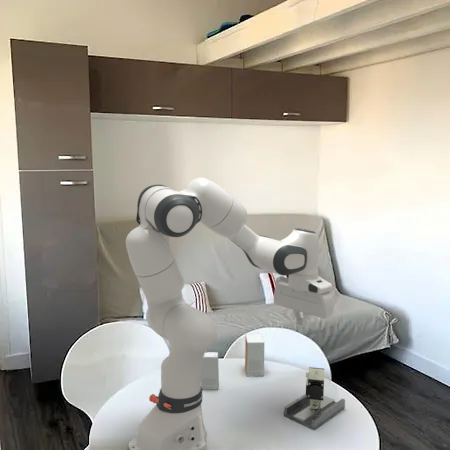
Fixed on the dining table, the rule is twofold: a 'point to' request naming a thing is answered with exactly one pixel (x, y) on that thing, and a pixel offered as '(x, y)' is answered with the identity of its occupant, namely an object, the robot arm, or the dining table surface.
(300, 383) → the dining table surface
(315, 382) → the pneumatic valve
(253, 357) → the small box
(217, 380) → the skincare box
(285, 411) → the rail plate
